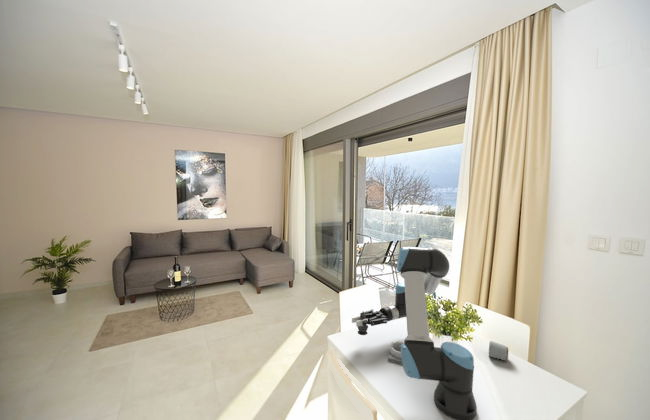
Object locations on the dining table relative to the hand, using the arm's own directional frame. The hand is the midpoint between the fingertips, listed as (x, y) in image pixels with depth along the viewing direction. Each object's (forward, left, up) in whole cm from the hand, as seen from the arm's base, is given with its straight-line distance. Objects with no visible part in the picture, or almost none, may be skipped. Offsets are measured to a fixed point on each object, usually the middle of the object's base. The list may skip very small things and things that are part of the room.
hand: (354, 322), depth 141 cm
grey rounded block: (+24, -70, -15) cm, 75 cm away
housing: (+4, -28, -15) cm, 32 cm away
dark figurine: (+4, -3, -7) cm, 9 cm away
